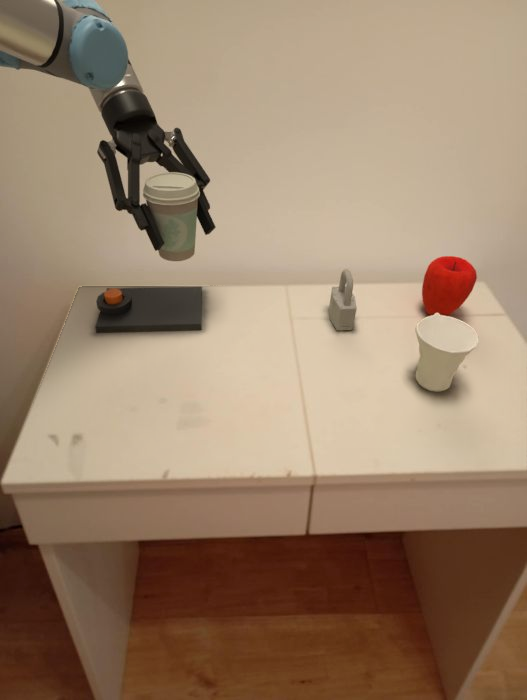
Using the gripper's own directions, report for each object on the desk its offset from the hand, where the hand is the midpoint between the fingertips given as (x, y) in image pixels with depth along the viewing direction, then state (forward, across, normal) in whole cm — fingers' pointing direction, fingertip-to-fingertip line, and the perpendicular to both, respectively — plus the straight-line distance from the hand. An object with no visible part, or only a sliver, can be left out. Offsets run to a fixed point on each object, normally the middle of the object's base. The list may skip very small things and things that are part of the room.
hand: (185, 238), depth 73 cm
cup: (+37, +22, -13) cm, 45 cm away
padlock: (+22, +22, +1) cm, 32 cm away
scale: (+6, -4, +17) cm, 19 cm away
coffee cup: (+1, 0, +5) cm, 5 cm away
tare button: (+2, -9, +18) cm, 20 cm away
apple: (+29, +39, -6) cm, 49 cm away
